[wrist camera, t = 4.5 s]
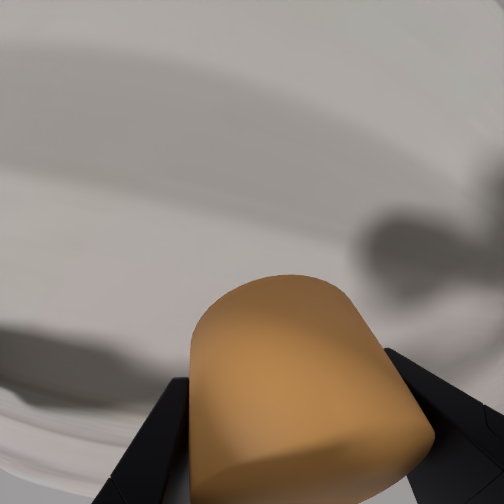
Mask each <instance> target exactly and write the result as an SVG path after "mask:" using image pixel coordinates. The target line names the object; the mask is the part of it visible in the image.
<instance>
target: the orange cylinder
mask: <svg viewBox="0 0 504 504" xmlns="http://www.w3.org/2000/svg"><path fill="white" fill-rule="evenodd" d="M434 439H435V432H434V430H433V428H432V426H431V425H430V423H429V421H428V420H427V418H426V416H425V415H424V413H423V411H422V410H421V408H420V406H419V405H418V403H417V401H416V400H415V398H414V397H413V395H412V393H411V392H410V390H409V388H408V387H407V385H406V384H405V382H404V381H403V379H402V377H401V376H400V374H399V373H398V371H397V369H396V368H395V366H394V365H393V363H392V362H391V360H390V359H389V357H388V355H387V354H386V352H385V351H384V349H383V348H382V346H381V345H380V343H379V342H378V340H377V339H376V337H375V336H374V334H373V333H372V331H371V330H370V328H369V327H368V325H367V324H366V322H365V321H364V319H363V318H362V316H361V315H360V313H359V312H358V310H357V309H356V308H355V306H354V305H353V303H352V302H351V300H350V299H349V298H348V297H347V296H346V295H345V293H344V292H342V291H341V290H340V289H338V288H337V287H336V286H334V285H332V284H330V283H328V282H326V281H323V280H320V279H318V278H314V277H309V276H303V275H278V276H271V277H265V278H262V279H258V280H255V281H251V282H249V283H246V284H244V285H241V286H239V287H237V288H236V289H234V290H232V291H230V292H228V293H227V294H225V295H224V296H222V297H221V298H220V299H218V300H217V301H216V302H215V303H214V304H213V305H211V306H210V307H209V308H208V310H207V311H206V312H205V313H204V314H203V316H202V317H201V319H200V320H199V322H198V323H197V325H196V328H195V330H194V332H193V335H192V340H191V348H190V377H189V491H190V503H191V504H358V503H361V502H363V501H365V500H367V499H369V498H371V497H373V496H375V495H377V494H379V493H380V492H382V491H384V490H386V489H387V488H389V487H390V486H392V485H394V484H395V483H396V482H398V481H399V480H401V479H402V478H403V477H405V476H406V475H407V474H408V473H410V472H411V471H412V470H413V469H414V468H415V467H416V466H417V465H418V464H419V463H420V462H421V461H422V460H423V459H424V458H425V456H426V455H427V454H428V452H429V451H430V449H431V447H432V445H433V443H434Z"/></svg>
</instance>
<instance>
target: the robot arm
mask: <svg viewBox="0 0 504 504" xmlns="http://www.w3.org/2000/svg"><path fill="white" fill-rule="evenodd" d="M384 351H385V352H386V354H387V355H388V357H389V359H390V360H391V362H392V363H393V365H394V366H395V368H396V369H397V371H398V373H399V374H400V376H401V377H402V379H403V381H404V382H405V384H406V385H407V387H408V388H409V390H410V392H411V393H412V395H413V397H414V398H415V400H416V401H417V403H418V405H419V406H420V408H421V410H422V411H423V413H424V415H425V416H426V418H427V420H428V421H429V423H430V425H431V426H432V428H433V430H434V432H435V439H434V443H433V445H432V447H431V449H430V451H429V452H428V454H427V455H426V456H425V458H424V459H423V460H422V461H421V462H420V463H419V464H418V465H417V466H416V467H415V468H414V469H413V470H412V471H411V472H410V473H408V474H407V475H406V476H407V478H408V480H409V483H410V485H411V488H412V490H413V493H414V496H415V498H416V501H417V503H418V504H504V415H502V414H501V413H499V412H497V411H495V410H493V409H492V408H490V407H488V406H487V405H483V403H481V402H480V401H478V400H476V399H475V398H473V397H471V396H469V395H468V394H466V393H464V392H463V391H461V390H459V389H458V388H456V387H454V386H453V385H451V384H449V383H448V382H446V381H444V380H443V379H441V378H439V377H438V376H436V375H434V374H432V373H431V372H429V371H427V370H426V369H424V368H422V367H421V366H419V365H417V364H416V363H414V362H412V361H411V360H409V359H407V358H406V357H404V356H402V355H401V354H399V353H397V352H396V351H394V350H393V349H391V348H384ZM110 476H111V478H108V480H107V481H106V483H105V484H104V486H103V488H102V489H101V490H100V492H99V493H98V495H97V496H96V498H95V499H94V501H93V502H92V504H191V503H190V491H189V378H187V377H175V378H173V379H172V380H171V381H170V383H169V384H168V386H167V387H166V389H165V390H164V392H163V394H162V395H161V397H160V398H159V400H158V401H157V403H156V405H155V406H154V408H153V409H152V411H151V412H150V414H149V416H148V417H147V419H146V420H145V422H144V423H143V425H142V427H141V428H140V430H139V431H138V433H137V434H136V436H135V438H134V439H133V441H132V442H131V444H130V445H129V447H128V449H127V450H126V452H125V453H124V455H123V456H122V458H121V459H120V461H119V463H118V464H117V466H116V467H115V469H114V470H113V472H112V474H111V475H110Z"/></svg>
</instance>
